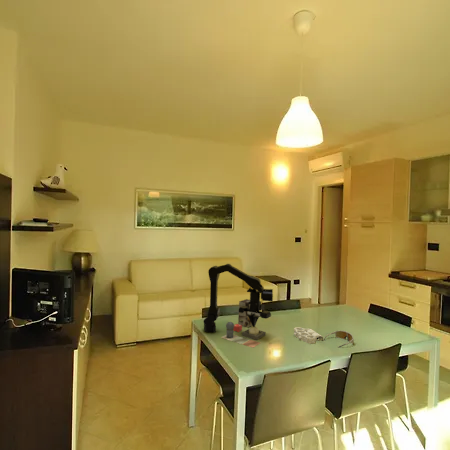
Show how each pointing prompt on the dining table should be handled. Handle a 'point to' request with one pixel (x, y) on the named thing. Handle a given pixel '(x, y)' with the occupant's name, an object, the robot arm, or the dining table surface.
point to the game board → (242, 341)
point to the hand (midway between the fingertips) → (253, 326)
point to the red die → (237, 327)
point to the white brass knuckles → (307, 335)
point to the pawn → (229, 330)
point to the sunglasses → (343, 336)
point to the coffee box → (244, 314)
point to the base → (255, 337)
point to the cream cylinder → (254, 330)
